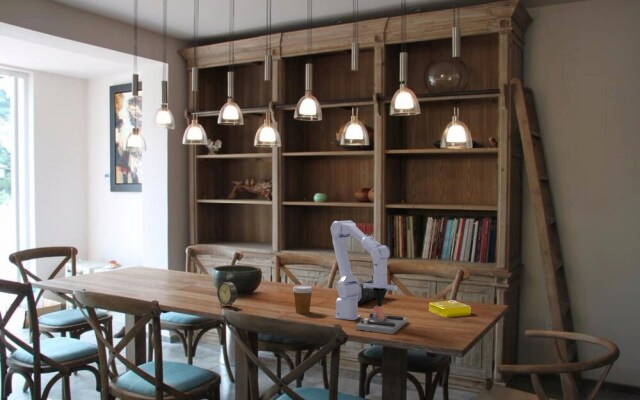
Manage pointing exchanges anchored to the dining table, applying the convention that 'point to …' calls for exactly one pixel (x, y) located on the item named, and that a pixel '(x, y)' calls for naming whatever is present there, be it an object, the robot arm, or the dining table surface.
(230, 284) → the alarm clock
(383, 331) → the box
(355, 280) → the robot arm
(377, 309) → the lever
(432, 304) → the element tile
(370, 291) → the muzzle brake
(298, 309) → the disposable coffee cup
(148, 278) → the dining table surface
